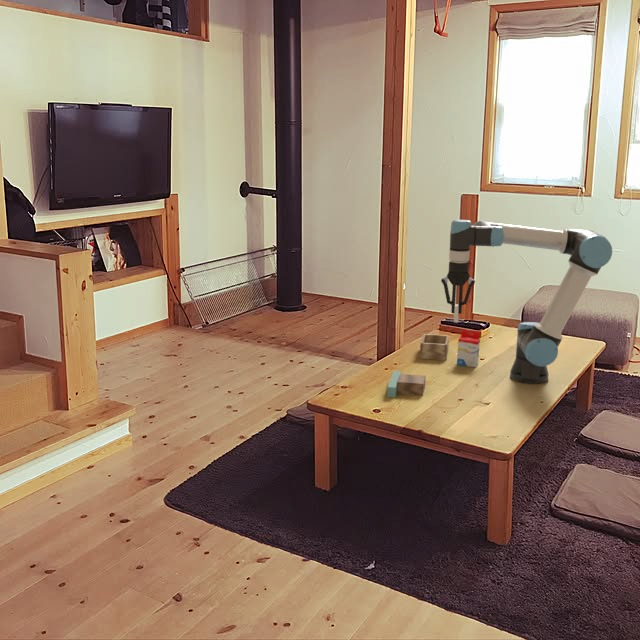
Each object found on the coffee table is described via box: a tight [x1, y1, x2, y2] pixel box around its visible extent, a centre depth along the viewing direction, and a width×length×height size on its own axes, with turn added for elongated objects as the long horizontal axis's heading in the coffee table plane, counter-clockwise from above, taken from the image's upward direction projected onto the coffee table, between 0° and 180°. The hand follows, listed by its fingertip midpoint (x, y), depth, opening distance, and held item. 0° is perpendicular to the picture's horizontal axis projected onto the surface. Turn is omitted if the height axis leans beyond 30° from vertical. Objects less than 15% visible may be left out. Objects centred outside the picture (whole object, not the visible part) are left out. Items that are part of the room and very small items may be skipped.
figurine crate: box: [419, 333, 450, 361], centre depth 350 cm, size 12×16×7 cm
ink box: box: [456, 329, 481, 368], centre depth 335 cm, size 8×5×15 cm, turn 68°
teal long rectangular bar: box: [386, 370, 402, 399], centre depth 305 cm, size 3×20×4 cm, turn 168°
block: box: [396, 373, 426, 396], centre depth 304 cm, size 10×10×5 cm
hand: (455, 321), depth 302 cm, fingers closed
